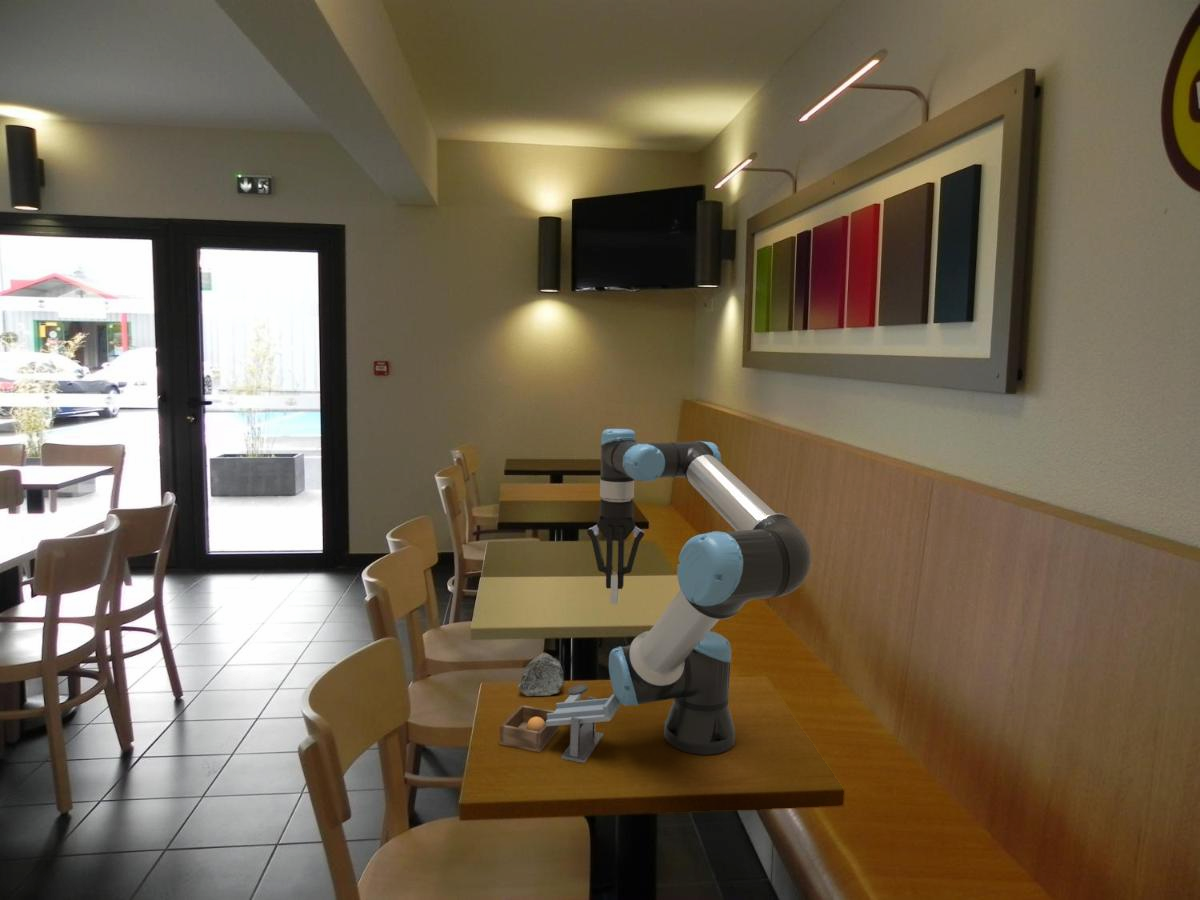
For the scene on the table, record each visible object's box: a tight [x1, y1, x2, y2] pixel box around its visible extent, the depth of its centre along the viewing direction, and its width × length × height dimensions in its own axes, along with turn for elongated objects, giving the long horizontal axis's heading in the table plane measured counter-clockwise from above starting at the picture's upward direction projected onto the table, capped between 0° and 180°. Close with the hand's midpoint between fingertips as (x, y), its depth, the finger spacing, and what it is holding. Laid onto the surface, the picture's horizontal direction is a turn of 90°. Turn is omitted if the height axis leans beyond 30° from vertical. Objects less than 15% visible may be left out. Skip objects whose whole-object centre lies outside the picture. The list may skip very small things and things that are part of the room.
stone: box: [517, 652, 565, 697], centre depth 189 cm, size 10×10×10 cm
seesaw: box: [546, 683, 622, 726], centre depth 167 cm, size 15×18×3 cm
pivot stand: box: [560, 695, 604, 764], centre depth 163 cm, size 5×12×9 cm, turn 162°
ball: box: [527, 717, 545, 731], centre depth 166 cm, size 4×4×4 cm
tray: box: [499, 704, 560, 753], centre depth 167 cm, size 9×11×4 cm
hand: (614, 602), depth 176 cm, fingers closed
